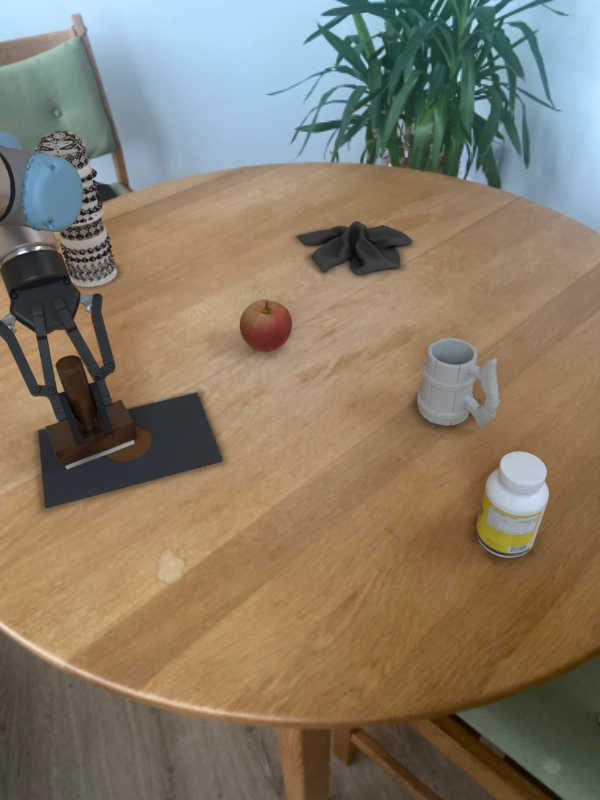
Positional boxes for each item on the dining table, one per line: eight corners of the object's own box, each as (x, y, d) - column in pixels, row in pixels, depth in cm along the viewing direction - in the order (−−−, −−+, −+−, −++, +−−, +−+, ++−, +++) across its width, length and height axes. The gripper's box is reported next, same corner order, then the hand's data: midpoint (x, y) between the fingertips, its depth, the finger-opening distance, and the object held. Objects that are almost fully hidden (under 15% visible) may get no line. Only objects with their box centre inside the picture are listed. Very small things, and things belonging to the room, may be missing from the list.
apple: (288, 327, 109) (287, 284, 104) (296, 357, 103) (294, 313, 98) (239, 332, 108) (235, 289, 103) (244, 362, 102) (239, 319, 97)
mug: (439, 383, 97) (450, 314, 89) (508, 424, 91) (526, 353, 83) (403, 407, 94) (411, 337, 86) (472, 452, 87) (487, 380, 79)
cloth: (414, 231, 133) (417, 201, 129) (405, 280, 119) (408, 248, 115) (303, 223, 136) (303, 194, 132) (282, 269, 123) (281, 238, 119)
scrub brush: (63, 473, 85) (29, 389, 76) (54, 448, 88) (20, 365, 79) (139, 444, 88) (116, 360, 79) (127, 421, 92) (103, 338, 82)
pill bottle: (505, 506, 80) (525, 436, 72) (545, 545, 76) (570, 475, 68) (462, 528, 78) (477, 458, 70) (501, 570, 73) (521, 500, 66)
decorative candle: (108, 257, 128) (77, 121, 111) (127, 278, 122) (96, 138, 105) (61, 271, 124) (21, 133, 108) (77, 293, 118) (37, 151, 102)
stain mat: (46, 508, 81) (44, 504, 81) (39, 433, 91) (37, 429, 91) (222, 461, 87) (221, 457, 86) (197, 395, 97) (197, 391, 96)
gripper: (94, 253, 89) (155, 419, 89) (-35, 285, 84) (29, 463, 83) (95, 232, 82) (161, 413, 82) (-45, 266, 77) (25, 460, 76)
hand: (94, 438), depth 82 cm, fingers closed on scrub brush, 3 cm apart
